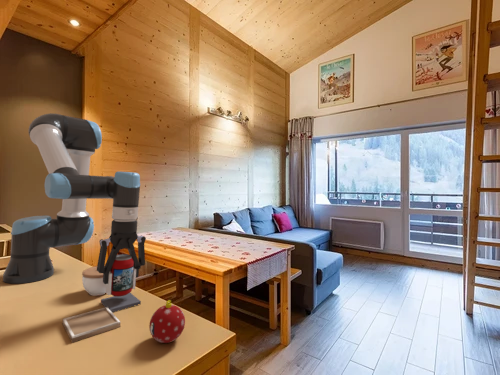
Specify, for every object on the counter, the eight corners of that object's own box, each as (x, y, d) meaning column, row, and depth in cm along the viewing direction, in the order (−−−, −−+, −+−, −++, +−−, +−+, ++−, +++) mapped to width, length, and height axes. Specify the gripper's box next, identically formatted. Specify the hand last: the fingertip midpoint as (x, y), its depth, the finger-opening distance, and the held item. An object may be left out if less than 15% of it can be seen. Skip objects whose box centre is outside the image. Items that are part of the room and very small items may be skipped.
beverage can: (116, 300, 80) (118, 261, 80) (104, 293, 83) (106, 256, 83) (136, 293, 86) (138, 256, 85) (124, 287, 89) (126, 252, 89)
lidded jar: (100, 300, 85) (102, 272, 85) (73, 296, 88) (74, 268, 88) (122, 288, 96) (124, 262, 96) (97, 284, 98) (99, 259, 98)
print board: (62, 324, 71) (62, 318, 71) (106, 311, 78) (107, 306, 78) (72, 342, 63) (72, 336, 63) (120, 326, 71) (120, 321, 71)
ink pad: (100, 302, 84) (101, 299, 84) (129, 295, 90) (129, 292, 90) (110, 312, 78) (110, 309, 78) (140, 304, 84) (140, 301, 84)
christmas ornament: (190, 341, 66) (192, 302, 66) (158, 355, 60) (160, 312, 60) (173, 327, 72) (175, 291, 72) (142, 338, 66) (144, 299, 66)
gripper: (94, 223, 74) (89, 303, 75) (159, 219, 88) (154, 286, 89) (86, 219, 80) (82, 294, 80) (149, 216, 94) (145, 280, 94)
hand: (120, 290), depth 84 cm, fingers closed on beverage can, 7 cm apart
